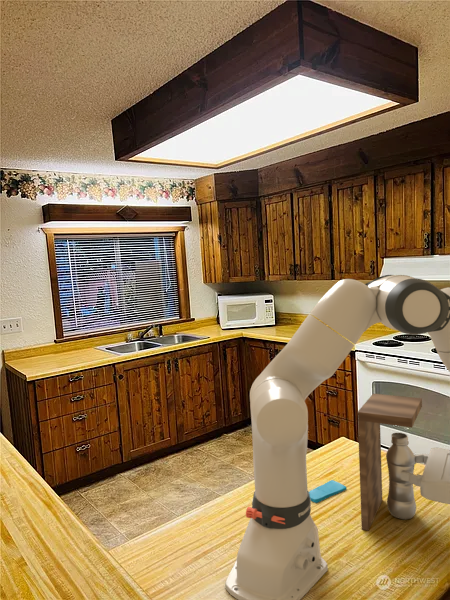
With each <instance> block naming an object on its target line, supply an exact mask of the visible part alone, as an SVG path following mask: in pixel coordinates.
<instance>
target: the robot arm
mask: <svg viewBox="0 0 450 600" xmlns="http://www.w3.org/2000/svg"><path fill="white" fill-rule="evenodd" d="M379 323H381V324H382V325H384V326H385V327H387V328H389V329H392V330H394V331H398V332H400V333H402V334H405V335H406V334H407V335H421V334H422V335H423V334H428V335H429V336H430V339H431V341H432V344H433V346H434V348H435V350H436V352H437V354H438V356H439V359H440V360H441V362H442V364H443V366H444V367H445V368H446V370H447V371H448V372H449V373H450V287H444V288H441V289H440V288H439V287H437V286H436V285H434V284H433V283H431V282H429V281H427V280H425V279H422V278H416V277H413V276H410V275H405V274H387V275H382V276H379V277H376V278H375V279H373V280H371V281H370V280H369V281H368V282H366V283H364V282H362V281H360V280H356V279H354V278H345V279H340V280H339V281H338V282H336V283H335V284H334V285H333V286H332V287H330V289H329V290H328V291H327V292H326V293H325V294H324V295H323V296H321V298H320V299H319V300H318V302H317V303H316V304H315V306H314V307H313V308H312V309H311V310H310V312H309V313H308V315H307V316H306V317H305V319H304V321H302V323H301V324H300V325H299V327H298V329H297V330H296V331H295V332H294V334H293V335H292V336H291V338H290V340H289V341H288V342H287V344H285V346H284V347H283V348H282V349H281V350H280V351H279V353H278V354H276V355H275V357H274V358H273V359H272V360H271V361H270V362H269V363H268V364H267V366H265V368H264V369H263V370H262V371H261V373H260V374H259V375H258V376H257V377H256V378H255V380H254V381H253V382H252V385H251V388H250V390H249V402H250V403H249V404H250V407H249V408H250V417H251V418H250V419H251V434H252V435H251V436H252V437H251V438H252V439H251V440H252V457H253V458H252V460H253V461H252V462H253V476H254V477H253V478H254V480H253V481H254V491H253V494H252V495H253V497H252V501H251V506H248V507H247V508H246V509H245V510H246V511H245V517H246V518H249V521H248V525H247V526H246V529H245V531H244V532H245V533H244V534H243V537H242V540H241V542H240V546H239V549H238V551H237V555H236V560H235V561H234V563H233V566H232V567H231V570H230V572H229V573H228V576H227V578H226V580H225V582H224V583H225V584H224V588H225V589H226V591H227V592H228V593H229V594H230V595H231V596H232V597H234V598H235V599H237V600H302V599H303V598H304V596H305V595H306V594H307V593H308V592H309V590H311V589H312V587H314V585H315V584H317V582H318V581H319V580H320V579H321V578H323V575H325V574H326V572H328V570H329V568H328V562H327V561H326V560H325V559H324V558H323V557H322V553H321V546H320V538H319V528H318V526H317V524H316V523H315V522H314V519H313V518H312V515H311V511H312V508H311V507H312V501H311V499H310V494H309V490H308V474H307V473H308V471H307V469H308V468H307V451H308V450H307V449H308V438H309V437H308V436H309V434H308V433H309V432H308V431H309V422H308V421H309V411H308V406H307V404H306V399H307V398H308V396H309V395H310V394H312V393H313V391H314V390H316V388H317V387H319V386H320V385H321V384H322V383H324V381H326V380H328V379H329V378H331V377H332V376H333V375H334V374H335V373H336V371H337V370H339V369H338V368H339V367H340V366H341V365H342V364H343V362H344V361H345V359H346V358H347V357H348V356H349V354H350V353H351V351H352V350H353V349H354V347H355V345H356V344H357V343H358V341H359V340H360V338H361V336H362V335H363V334H364V332H366V331H367V330H368V329H369V328H370V327H372V326H375V325H376V324H379ZM414 456H415V465H416V464H424V465H425V466H424V469H423V472H422V474H414V473H413V474H412V473H410V471H405V470H403V471H402V472H401V479H402V480H404V481H409V482H410V483H412V484H413V486H416V487H420V488H419V489H420V496H421V497H423V498H424V499H427V500H429V501H432V502H438V503H441V504H446V505H450V449H446V448H443V447H432V448H430V451H429V453H420V454H414Z"/></svg>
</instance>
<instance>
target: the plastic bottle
mask: <svg viewBox="0 0 450 600" xmlns="http://www.w3.org/2000/svg"><path fill="white" fill-rule="evenodd" d="M409 444H410V443H409V436H408V435H407V433H403V432H394V433H392V434H391V446H390V447H389V448H388V449H387V451H386V454H385V455H386V456H385V459H386V464H387V465H386V466H387V471H388V481H389V482H388V494H387V498H386V499H387V500H386V505H387V510H388V512H389V513H390V515H391V516H393V517H394V518H397V519H399V520H411V519H412V518H413V517H414V516H415V515H416V512H417V511H416V510H417V504H416V500H415V494H414V493H415V491H414V484H412V483H410V482H409V481H404V480H402V479H401V472H402V471H403V470H405V471H410V473H412V474H414V471H415V465H416V464H415V456H414V455H415V454H414V452H413V451H412V449H411V448H410V447H409Z"/></svg>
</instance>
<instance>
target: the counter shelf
mask: <svg viewBox="0 0 450 600" xmlns="http://www.w3.org/2000/svg"><path fill="white" fill-rule="evenodd" d="M422 408H423V397H422V398H421V397H411V396H403V395H402V396H401V395H392V394H384V393H383V394H381V393H372V394H371V396H370V397H369V398H368V399H367V400H366V401H365V403H364V404H363V405H362V406H361V407H360V408H359V409H358V411H357V428H358V429H357V433H358V434H357V435H358V436H357V437H358V460H359V462H358V463H359V464H358V465H359V486H360V489H359V493H360V517H361V519H360V520H361V522H360V523H361V530H363V531H367V532H369V530H370V528H371V526H372V523H373V521H374V520H375V517H376V515H377V512H378V510H379V508H380V506H381V504H382V501H383V477H382V476H383V475H382V443H381V440H382V439H381V437H382V436H381V425H382V424H383V425H388V426H389V425H390V426H399V427H406V428H413V426H414V424H415V423H416V419H417V418H418V416H419V414H420V412H421V409H422Z"/></svg>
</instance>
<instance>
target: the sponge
mask: <svg viewBox="0 0 450 600" xmlns="http://www.w3.org/2000/svg"><path fill="white" fill-rule="evenodd" d="M346 490H347V486H346V485H345V484H342V483H340V482H339V481H336V480H334V479H331V480H329V481H327V482H325V483H323V484H321V485H319V486H316V488H313V489H311V490H308V492H309V494H310V499H311V503H315V504H319V503H321V502H322V501H324V500H327V499H329V498H330V497H333V496H335V495H338V494H340V493H342V492H345V491H346Z"/></svg>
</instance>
